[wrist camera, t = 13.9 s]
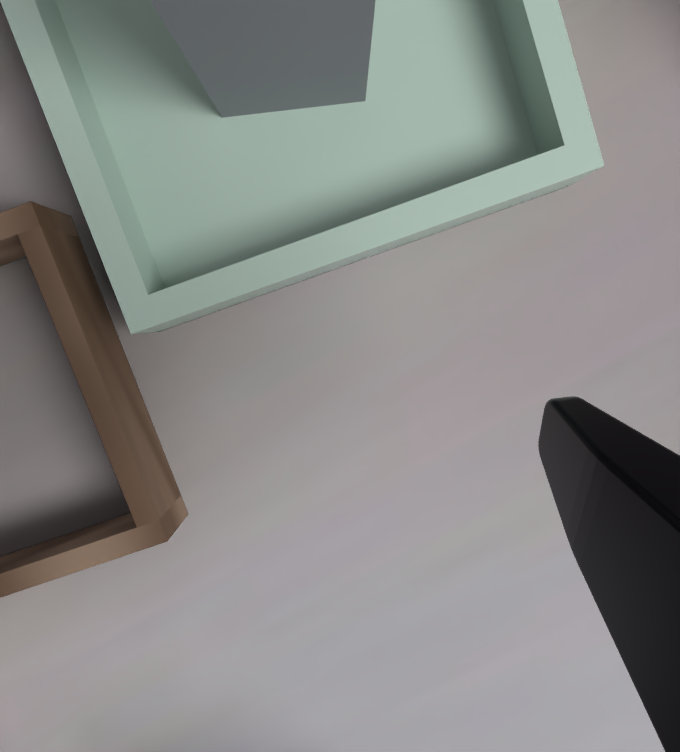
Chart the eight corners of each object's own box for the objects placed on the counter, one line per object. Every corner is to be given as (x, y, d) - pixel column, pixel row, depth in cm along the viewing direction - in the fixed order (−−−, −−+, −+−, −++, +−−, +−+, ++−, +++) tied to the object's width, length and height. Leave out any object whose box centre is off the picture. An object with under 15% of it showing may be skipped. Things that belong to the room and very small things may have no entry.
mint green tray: (431, -288, 17) (447, -393, 15) (569, 185, 19) (604, 165, 17) (-12, -110, 18) (-72, -181, 16) (158, 331, 20) (130, 334, 17)
